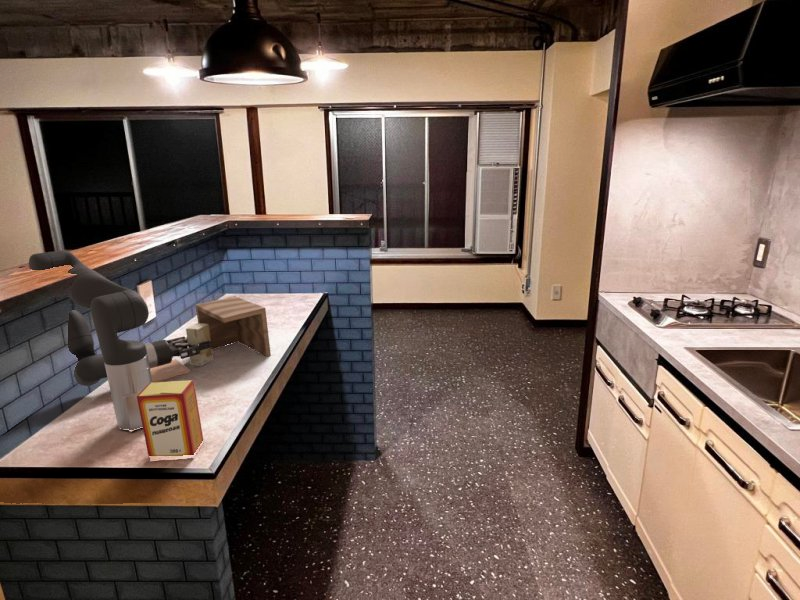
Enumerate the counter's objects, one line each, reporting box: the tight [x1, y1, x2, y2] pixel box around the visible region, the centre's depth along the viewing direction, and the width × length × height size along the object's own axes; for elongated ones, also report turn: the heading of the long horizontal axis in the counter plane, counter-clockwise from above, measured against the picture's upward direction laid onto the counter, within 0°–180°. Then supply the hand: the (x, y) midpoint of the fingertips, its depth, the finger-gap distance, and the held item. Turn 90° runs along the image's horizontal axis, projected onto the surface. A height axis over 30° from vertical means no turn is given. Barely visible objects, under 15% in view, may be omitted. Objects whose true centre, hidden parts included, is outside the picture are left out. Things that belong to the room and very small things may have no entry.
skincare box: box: [185, 322, 214, 367], centre depth 158 cm, size 6×4×12 cm
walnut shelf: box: [195, 296, 272, 358], centre depth 165 cm, size 22×14×16 cm, turn 43°
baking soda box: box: [137, 379, 204, 457], centre depth 109 cm, size 10×6×16 cm
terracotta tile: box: [150, 359, 191, 383], centre depth 154 cm, size 12×12×1 cm
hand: (206, 341), depth 159 cm, fingers closed on skincare box, 7 cm apart
